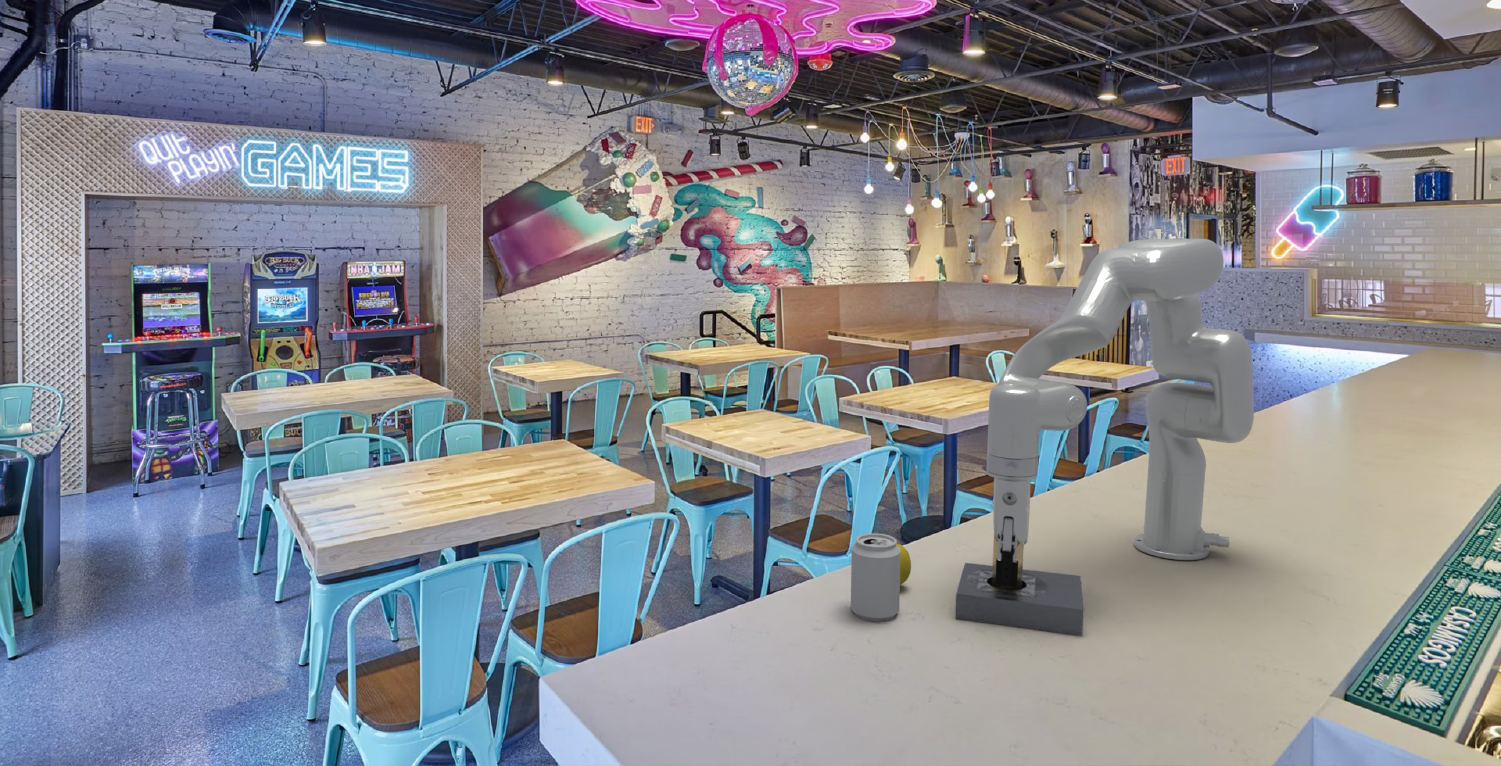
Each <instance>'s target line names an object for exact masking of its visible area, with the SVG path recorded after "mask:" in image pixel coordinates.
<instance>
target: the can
mask: <svg viewBox="0 0 1501 766" xmlns="http://www.w3.org/2000/svg"><path fill="white" fill-rule="evenodd" d="M896 543H898V541H897V539H896V538H895V537H893V536H891V535H889V534H883V533H863V534H861V535H858V536H857V537H856V538H855V543H854V544H853V545H852V546H851V562H850V563H851V567H850V568H851V570H850V571H851V573H850V575H851V576H850V609H851V610H852V612H853V613H854V614H855V615H856V616H857V617H859V618H861V619H862V620H865V621H871V622H883V621H888V620H890V619H892V618H894V616H896V615H897V614H898V613H899V612H900V600H901V599H900V596H901V595H900V593H901V592H900V591H901V587H900V586H901V585H900V562H901V550H900V548H899V547H898V546H897V545H896Z"/></svg>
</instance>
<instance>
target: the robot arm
mask: <svg viewBox="0 0 1501 766" xmlns="http://www.w3.org/2000/svg"><path fill="white" fill-rule="evenodd" d="M1223 254H1224V253H1223V251H1222V250H1221V247H1220V246H1219V245H1218V244H1216V243H1215V241H1213V240H1210V239H1207V238H1154V239H1153V238H1152V239H1151V238H1149V239H1147V238H1146V239H1136V240H1132V241H1127V242H1125V243H1123V244H1121V245H1120V246H1119V247H1116V248H1109V249H1106V250H1102V251H1101V252H1099V253H1098V254H1097V255H1096V256H1094V258H1093V259H1092V261H1091V262H1090V264H1089V265H1088V266H1087V267H1088V268H1087V269H1086V271H1085V273H1084V275H1083V276H1082V279H1080V282H1079V284H1078V286H1077V288H1076V289H1075V292H1073V293H1074V294H1073V296H1072V297H1071V299H1070V301H1069V303H1068V305H1067V307H1066V308H1065V310H1064V312H1063V314H1062V316H1061V317H1060V318H1059V319H1058V320H1057V321H1056V322H1054V323H1052V324H1051V325H1049V326H1047V327H1045V328H1044V329H1043V330H1041V331H1039V332H1038V334H1036V335H1034V336H1033V337H1032V338H1031V339H1029V340H1028V341H1026V342H1025V343H1024V344H1023V345H1022V346H1021V347H1019V349H1018V350H1017V351H1016V352H1015V353H1014V354H1013V356H1012V357H1011V359H1010V361H1009V362H1008V364H1007V366H1006V368H1005V370H1004V372H1003V373H1002V375H1001V377H1000V380H999V382H998V384H997V385H996V386H994V387H992V389H991V390H990V393H989V397H988V398H989V400H988V423H987V424H988V425H987V426H988V427H987V449H986V450H987V452H986V475H988V476H989V477H992V478H994V479H993V501H992V504H993V506H992V507H993V513H992V514H993V515H992V517H993V523H992V524H993V540H994V539H995V540H996V541H997V542H998V543H999V546H998V559H996V581H995V582H996V584H997V585H1004V586H1012V587H1016V586H1017V580H1018V561H1017V545H1018V542H1020V543H1023V545H1024V546H1025V545H1026V544H1027V543H1028V541H1029V526H1030V508H1031V507H1030V505H1031V480H1035V479H1037V478H1038V471H1039V469H1038V468H1039V452H1040V451H1039V450H1040V433H1041V432H1042V431H1055V432H1063V431H1068V430H1071V429H1074V428H1075V427H1077V426H1078V425H1080V423H1081V422H1082V421H1083V420H1084V419H1085V416H1086V415H1087V411H1088V401H1087V397H1086V395H1085V394H1084V392H1083V391H1082V390H1081V389H1080V388H1078V387H1077V386H1075V385H1073V384H1071V383H1067V382H1062V381H1055V380H1049V379H1044V378H1043V379H1042V378H1041V377H1042V375H1044V374H1045V373H1046V372H1047V371H1048V370H1050V369H1051V368H1053V367H1054V366H1057V365H1058V364H1060V363H1062V362H1065V361H1067V360H1070V359H1073V358H1076V357H1080V356H1085V355H1086V354H1090V353H1093V352H1095V351H1098V350H1101V349H1103V348H1105V347H1107V346H1108V345H1109V344H1110V343H1112V340H1113V339H1114V336H1115V334H1116V332H1117V331H1118V329H1119V327H1120V325H1121V323H1122V320H1124V317H1125V315H1126V313H1127V311H1128V309H1129V308H1130V306H1131V304H1132V303H1133V302H1134V301H1140V302H1141V301H1144V302H1145V305H1146V308H1147V313H1148V325H1149V339H1150V340H1149V341H1150V352H1151V359H1152V360H1151V361H1152V365H1153V369H1154V371H1155V372H1156V373H1157V374H1159V375H1160V376H1162V377H1165V378H1169V379H1174V380H1180V381H1181V380H1183V381H1191V382H1198V383H1205V384H1206V383H1207V384H1210V385H1211V386H1207V385H1202V384H1201V385H1200V384H1195V383H1185V382H1165V383H1162V384H1160V385H1157V386H1156V387H1154V388H1152V390H1151V391H1150V392H1149V395H1148V396H1147V398H1146V399H1147V400H1146V404H1145V405H1146V406H1145V407H1146V408H1145V411H1146V421H1147V427H1148V439H1149V443H1148V444H1149V445H1148V447H1149V449H1148V464H1147V465H1148V468H1147V479H1146V482H1147V483H1146V496H1145V497H1146V498H1145V510H1144V525H1143V526H1144V527H1143V534H1139V535H1136V536H1135V537H1134V540H1133V545H1134V546H1135V548H1136V549H1137V550H1138V551H1140V552H1142V553H1145V554H1148V555H1150V556H1151V555H1152V556H1153V557H1158V558H1163V559H1168V560H1176V561H1177V560H1178V561H1196V560H1202V559H1204V558H1207V557H1208V556H1209V551H1210V549H1209V548H1210V546H1216V547H1219V548H1229V547H1230V537H1229V536H1222V535H1221V536H1220V534H1219V533H1214V532H1211V533H1209V532H1205V531H1204V529H1203V527H1202V519H1203V518H1202V517H1203V506H1204V492H1205V483H1206V480H1205V479H1206V469H1207V462H1206V461H1207V460H1206V455H1205V453H1204V450H1203V448H1202V446H1201V444H1200V442H1199V440H1198V439H1200V440H1206V441H1212V442H1218V443H1225V444H1236V443H1239V442H1242V441H1244V440H1245V439H1246V438H1247V437H1248V436H1249V434H1250V433H1251V431H1252V428H1253V425H1254V418H1255V417H1254V415H1255V407H1254V406H1255V400H1254V397H1255V396H1254V377H1253V376H1254V375H1253V374H1254V372H1253V367H1254V366H1253V356H1252V350H1251V347H1250V344H1249V342H1248V340H1247V338H1246V337H1245V336H1244V335H1243V334H1242V333H1239V332H1238V331H1235V330H1230V329H1223V328H1212V327H1211V328H1207V327H1206V326H1205V324H1204V319H1203V311H1202V301H1201V297H1200V294H1199V293H1202V292H1205V291H1208V290H1209V289H1210V288H1212V287H1213V286H1214V285H1216V283H1217V281H1219V278H1221V275H1222V273H1223V269H1224V263H1225V261H1224V260H1225V259H1224V255H1223ZM1002 536H1003V540H1002ZM1012 537H1013V538H1015V541H1012ZM998 540H999V541H998ZM1002 544H1003V547H1002ZM1012 545H1013V546H1014V550H1013V548H1012Z"/></svg>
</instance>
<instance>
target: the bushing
mask: <svg viewBox="0 0 1501 766" xmlns="http://www.w3.org/2000/svg"><path fill="white" fill-rule="evenodd" d="M1002 540H1003V536H1002ZM998 541H999V540H998ZM1012 541H1015V538H1013V537H1012ZM998 546H999V543H998V542H997V541H996V540H995V539H994V538H993V546H992V548H993V549H992V566H993V568H992V587H995V588H998V589H1002V590H1010V591H1012V590H1021V589H1022V572H1023V567H1024V566H1023V565H1024V549H1025V547H1024V546H1025V545H1023V543H1020V542H1018V545H1017V561H1018V580H1017V586H1016V587H1012V586H1004V585H997V584H996V582H995V581H996V559H998ZM1002 547H1003V544H1002ZM1012 548H1013V550H1014V546H1013V545H1012Z"/></svg>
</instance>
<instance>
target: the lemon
mask: <svg viewBox="0 0 1501 766" xmlns="http://www.w3.org/2000/svg"><path fill="white" fill-rule="evenodd" d="M896 545H897V546H898V547H899V548H900V550H901V562H900V586H901V585H903V584H904V583H906V581H908V579H909V577H910V574H911V571H912V561H911V556H910V553H909V551H908V550H907V548H906V547H904V546H903V545H902V544H900V543H898V542H897V543H896Z"/></svg>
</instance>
